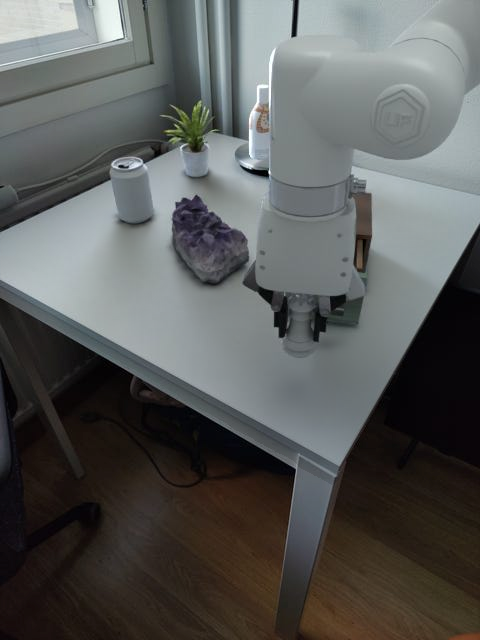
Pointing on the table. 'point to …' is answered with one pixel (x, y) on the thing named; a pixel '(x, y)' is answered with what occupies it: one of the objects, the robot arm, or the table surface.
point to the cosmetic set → (260, 125)
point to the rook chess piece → (300, 326)
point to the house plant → (193, 142)
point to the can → (131, 189)
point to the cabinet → (364, 223)
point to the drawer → (350, 308)
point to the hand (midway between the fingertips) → (299, 331)
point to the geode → (207, 241)
